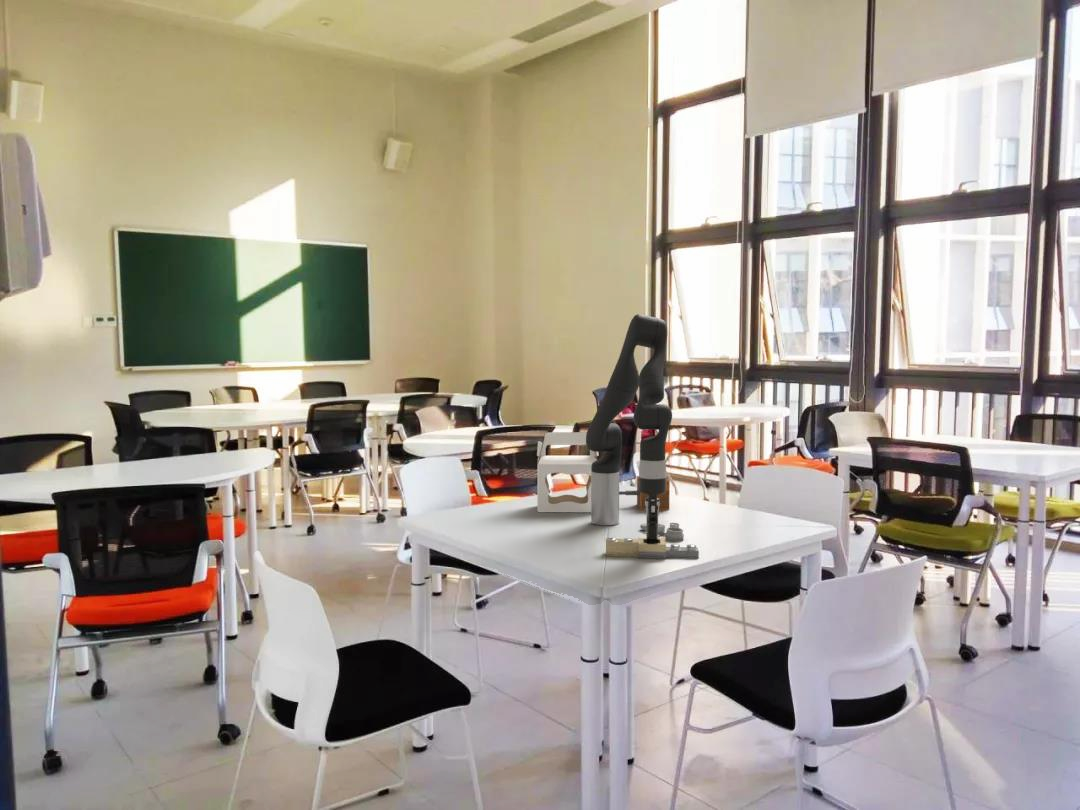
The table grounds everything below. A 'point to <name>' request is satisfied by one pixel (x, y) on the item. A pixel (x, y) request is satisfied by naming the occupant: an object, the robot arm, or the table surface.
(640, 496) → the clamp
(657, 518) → the pin
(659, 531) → the pulley system
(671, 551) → the chain end
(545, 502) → the white open frame
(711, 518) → the table surface
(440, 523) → the table surface
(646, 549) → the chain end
